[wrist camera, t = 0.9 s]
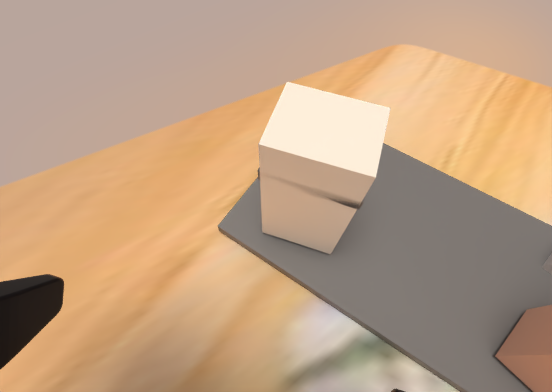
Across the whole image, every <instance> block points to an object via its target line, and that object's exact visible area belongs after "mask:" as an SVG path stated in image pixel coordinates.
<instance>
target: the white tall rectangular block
mask: <svg viewBox="0 0 552 392" xmlns="http://www.w3.org/2000/svg"><path fill="white" fill-rule="evenodd" d="M389 112H390V108H389V107H385V106H381V105H377V104H373V103H369V102H365V101H361V100H357V99H353V98H349V97H345V96H341V95H337V94H333V93H329V92H325V91H322V90H318V89H314V88H310V87H306V86H302V85H298V84H294V83H290V82H287V83H286V85H285V87H284V90H283V92H282V94H281V96H280V98H279V101H278V103H277V105H276V107H275V109H274V111H273V114H272V116H271V118H270V120H269V122H268V125H267V127H266V129H265V131H264V133H263V135H262V138H261V140H260V142H259V169H258V180H260V190H261V214H262V232H263V233H266V234H269V235H273V236H276V237H279V238H282V239H285V240H288V241H291V242H294V243H297V244H300V245H303V246H306V247H309V248H313V249H316V250H319V251H322V252H325V253H328V254H331V253H332V251H333V249H334V248H335V246H336V244H337V243H338V241H339V239H340V238H341V236H342V234H343V233H344V231H345V229H346V227H347V226H348V224H349V222H350V221H351V219H352V217H353V216H354V214H355V212H356V210H357V209H358V210H359V209H360V208H361V206H362V204H363V203H364V199H365V195H366V193H367V192H368V190H369V188H370V187H371V185H372V183H373V182H374V180H375V178H376V174H377V170H378V165H379V160H380V155H381V151H382V146H383V141H384V136H385V131H386V127H387V122H388V117H389Z"/></svg>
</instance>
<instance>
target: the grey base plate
mask: <svg viewBox="0 0 552 392" xmlns="http://www.w3.org/2000/svg"><path fill="white" fill-rule="evenodd" d="M218 228H219V231H220V232H222V233H223V234H225V235H226V236H228V237H229V238H231V239H232V240H234V241H235V242H237V243H238V244H240V245H241V246H243V247H244V248H246V249H247V250H249V251H250V252H252V253H253V254H255V255H256V256H258V257H259V258H261V259H262V260H264V261H265V262H267V263H268V264H270V265H271V266H273V267H274V268H276V269H277V270H279V271H280V272H282V273H283V274H285V275H286V276H288V277H289V278H291V279H292V280H294V281H295V282H297V283H298V284H300V285H301V286H303V287H304V288H306V289H307V290H309V291H310V292H312V293H313V294H315V295H316V296H318V297H319V298H321V299H322V300H324V301H325V302H327V303H328V304H330V305H331V306H333V307H334V308H336V309H337V310H339V311H340V312H342V313H343V314H345V315H346V316H348V317H349V318H351V319H352V320H354V321H355V322H357V323H358V324H360V325H361V326H363V327H364V328H366V329H367V330H369V331H370V332H372V333H373V334H375V335H376V336H378V337H379V338H381V339H382V340H384V341H385V342H387V343H388V344H390V345H391V346H393V347H394V348H396V349H397V350H399V351H400V352H402V353H403V354H405V355H406V356H408V357H409V358H411V359H412V360H414V361H415V362H417V363H418V364H420V365H421V366H423V367H424V368H426V369H427V370H429V371H431V372H432V373H434V374H435V375H437V376H438V377H440V378H441V379H443V380H444V381H446V382H447V383H449V384H450V385H452V386H453V387H455V388H456V389H458V390H459V391H461V392H533V391H532V390H531V389H530V388H529V387H528V386H527V385H525V384H524V383H523V382H522V381H521V380H520V379H519V378H518V377H517V376H516V375H515V374H514V373H513V372H512V371H510V370H509V369H508V368H507V367H506V366H505V365H504V364H503V363H502V362H501V361H500V360H499V359H498V358H497V357H495V355H496V354H497V352H498V351H499V350H500V348H501V347H502V345H503V344H504V342H505V341H506V339H507V338H508V336H509V335H510V333H511V332H512V331H513V329H514V328H515V326H516V325H517V323H518V322H519V320H520V319H521V317H522V316H523V315H524V313H525V312H526V310H527V309H532V308H537V307H542V306H547V305H552V226H551V225H549V224H547V223H545V222H543V221H540V220H538V219H536V218H534V217H532V216H530V215H528V214H526V213H524V212H522V211H520V210H518V209H516V208H514V207H512V206H510V205H508V204H506V203H504V202H502V201H500V200H498V199H496V198H494V197H492V196H490V195H488V194H486V193H484V192H482V191H480V190H478V189H476V188H473V187H471V186H469V185H467V184H465V183H463V182H461V181H459V180H457V179H455V178H453V177H451V176H449V175H447V174H445V173H443V172H441V171H439V170H437V169H435V168H433V167H431V166H429V165H427V164H425V163H423V162H421V161H419V160H417V159H415V158H413V157H411V156H409V155H406V154H404V153H402V152H400V151H398V150H396V149H394V148H392V147H390V146H388V145H386V144H384V143H383V146H382V151H381V155H380V160H379V165H378V170H377V174H376V178H375V180H374V182H373V183H372V185H371V187H370V188H369V190H368V192H367V193H366V195H365V199H364V203H363V204H362V206H361V208H360V209H359V210H358V209H357V210H356V212H355V214H354V216H353V217H352V219H351V221H350V222H349V224H348V226H347V227H346V229H345V231H344V233H343V234H342V236H341V238H340V239H339V241H338V243H337V244H336V246H335V248H334V249H333V251H332V253H331V254H328V253H325V252H322V251H319V250H316V249H313V248H309V247H306V246H303V245H300V244H297V243H294V242H291V241H288V240H285V239H282V238H279V237H276V236H273V235H269V234H266V233H263V232H262V214H261V190H260V180H258V178H257V179H256V180H255V181H254V182H253V184H252V185H251V186H250V187H249V189H248V190H247V191H246V192H245V193H244V195H243V196H242V197H241V198H240V199H239V201H238V202H237V203H236V204H235V206H234V207H233V208H232V209H231V210H230V212H229V213H228V214H227V215H226V216H225V218H224V219H223V220H222V221H221V223H220V224H219V225H218Z"/></svg>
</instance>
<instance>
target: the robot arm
mask: <svg viewBox="0 0 552 392" xmlns="http://www.w3.org/2000/svg"><path fill="white" fill-rule="evenodd" d="M63 292H64V281H63V279H61V278H59V277H56V276H53V275H50V274H45V275H39V276H33V277H27V278H21V279H15V280H9V281H3V282H0V369H2V368H3V367H4V366H5V365H6V364H7V363H8V362H9V361H10V360H11V359H12V358H13V357H15V356H16V355H17V354H18V353H19V352H20V351H21V350H22V349H23V348H24V347H25V346H26V345H27V344H28V343H29V342H30V341H31V340H32V339H33V338H34V337H35V336H36V335H37V334H38V333H39V332H40V331H41V330H42V329H43V328H44V327H45V326H46V325H47V324H48V323H49V322H50V321H51V320H52V319H53V318H54V317H55V316H56V315H57V314H58V312H59V311H60V309H61V307H62V304H63ZM391 392H405V391H402V390H399V389H393V390H392V391H391Z"/></svg>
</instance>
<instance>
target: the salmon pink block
mask: <svg viewBox="0 0 552 392" xmlns="http://www.w3.org/2000/svg"><path fill="white" fill-rule="evenodd" d="M495 357H497V358H498V359H499V360H500V361H501V362H502V363H503V364H504V365H505V366H506V367H507V368H508V369H509V370H510V371H512V372H513V373H514V374H515V375H516V376H517V377H518V378H519V379H520V380H521V381H522V382H523V383H524V384H525V385H527V386H528V387H529V388H530V389H531V390H532V391H533V392H552V305H547V306H542V307H537V308H532V309H527V310H526V312H525V313H524V315H523V316H522V317H521V319H520V320H519V322H518V323H517V325H516V326H515V328H514V329H513V331H512V332H511V333H510V335H509V336H508V338H507V339H506V341H505V342H504V344H503V345H502V347H501V348H500V350H499V351H498V352H497V354H496V355H495Z"/></svg>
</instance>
